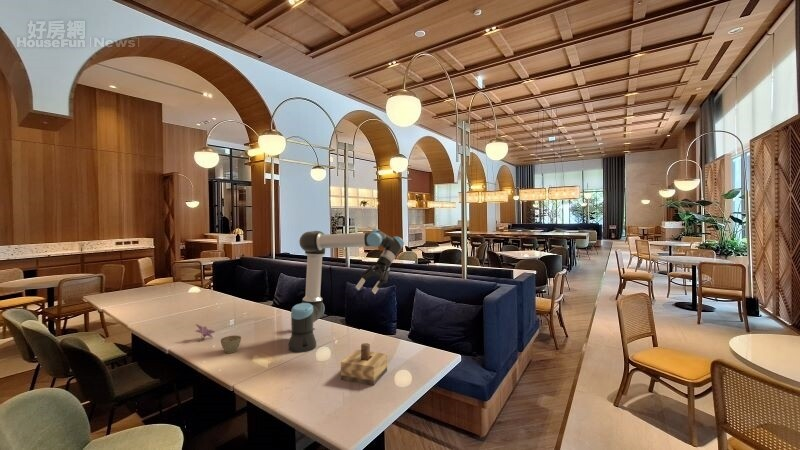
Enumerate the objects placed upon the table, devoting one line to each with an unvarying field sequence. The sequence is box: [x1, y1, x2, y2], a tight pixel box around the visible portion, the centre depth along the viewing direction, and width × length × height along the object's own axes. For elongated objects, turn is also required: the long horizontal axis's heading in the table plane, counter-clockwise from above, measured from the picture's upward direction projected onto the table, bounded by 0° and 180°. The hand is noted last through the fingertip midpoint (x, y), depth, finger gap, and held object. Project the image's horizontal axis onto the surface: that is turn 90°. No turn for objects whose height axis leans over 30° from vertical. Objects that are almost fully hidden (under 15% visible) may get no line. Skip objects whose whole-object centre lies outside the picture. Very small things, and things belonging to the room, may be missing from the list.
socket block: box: [340, 349, 388, 386], centre depth 155 cm, size 16×15×8 cm
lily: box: [194, 323, 216, 343], centre depth 202 cm, size 12×12×10 cm
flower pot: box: [220, 334, 242, 354], centre depth 184 cm, size 10×10×7 cm
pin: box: [360, 342, 371, 361], centre depth 155 cm, size 4×4×12 cm
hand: (365, 290), depth 181 cm, fingers open, 13 cm apart
